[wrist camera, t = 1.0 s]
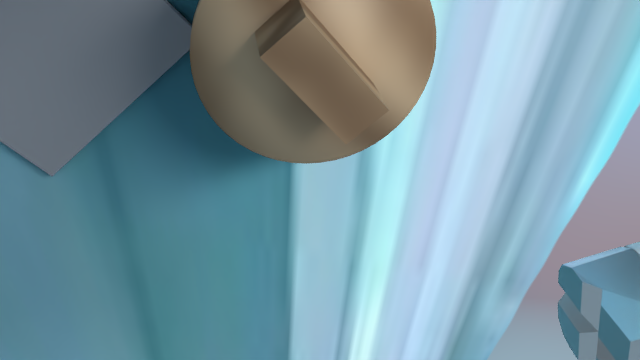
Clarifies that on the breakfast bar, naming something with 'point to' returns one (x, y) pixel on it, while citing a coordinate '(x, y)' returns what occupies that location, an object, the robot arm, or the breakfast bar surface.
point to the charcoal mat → (78, 69)
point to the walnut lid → (311, 71)
